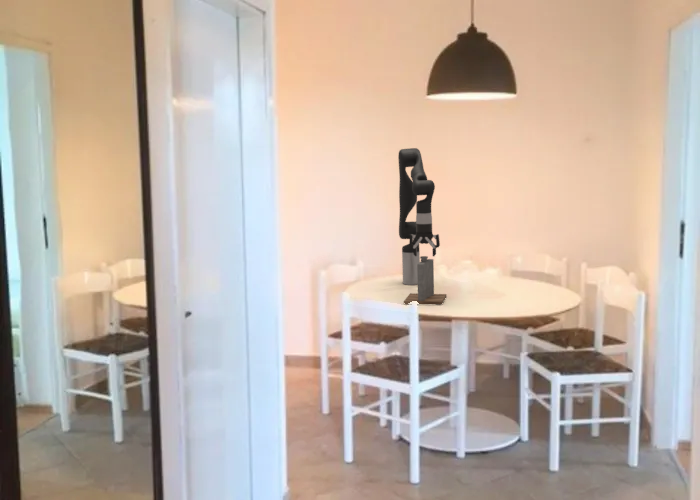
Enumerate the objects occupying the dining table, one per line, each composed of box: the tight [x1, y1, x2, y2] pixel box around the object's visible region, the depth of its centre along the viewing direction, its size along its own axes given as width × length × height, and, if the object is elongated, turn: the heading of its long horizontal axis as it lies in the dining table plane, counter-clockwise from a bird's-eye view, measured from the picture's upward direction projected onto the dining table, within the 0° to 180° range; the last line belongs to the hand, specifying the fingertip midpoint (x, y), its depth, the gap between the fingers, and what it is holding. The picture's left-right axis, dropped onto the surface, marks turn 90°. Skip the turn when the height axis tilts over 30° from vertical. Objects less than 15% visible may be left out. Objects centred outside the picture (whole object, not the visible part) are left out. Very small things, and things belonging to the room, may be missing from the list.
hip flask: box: [417, 255, 435, 301], centre depth 382 cm, size 16×4×20 cm, turn 154°
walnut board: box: [403, 293, 448, 305], centre depth 384 cm, size 18×18×2 cm
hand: (424, 256), depth 380 cm, fingers open, 8 cm apart
